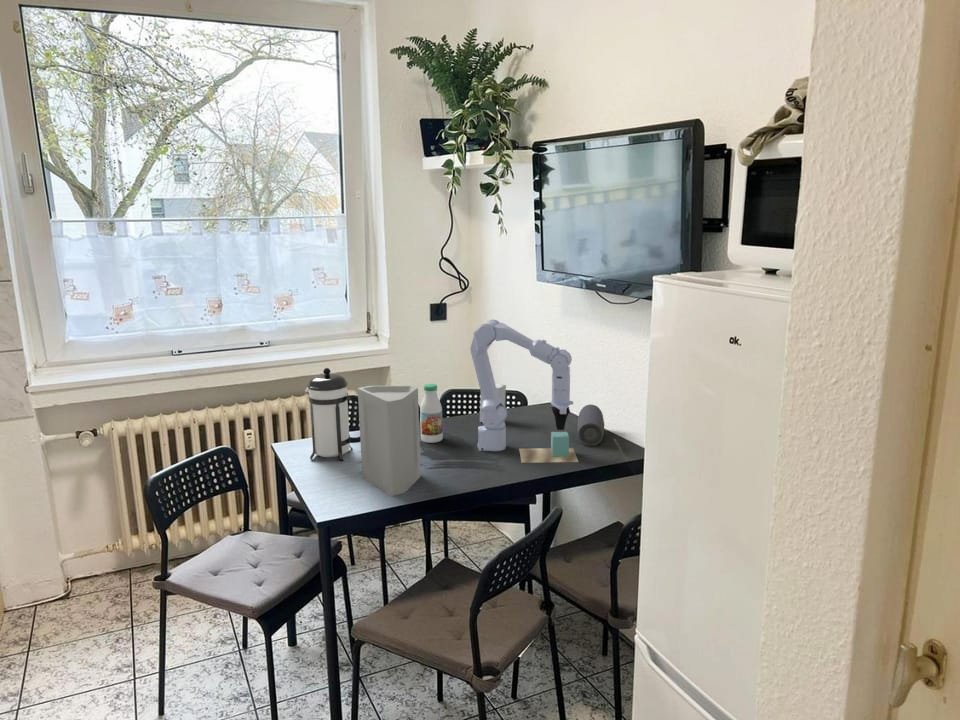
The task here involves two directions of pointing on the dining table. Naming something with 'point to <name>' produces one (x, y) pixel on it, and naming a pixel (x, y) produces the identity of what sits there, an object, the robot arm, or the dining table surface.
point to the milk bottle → (431, 415)
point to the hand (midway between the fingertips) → (560, 429)
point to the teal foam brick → (560, 444)
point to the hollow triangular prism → (390, 436)
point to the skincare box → (501, 393)
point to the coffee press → (330, 415)
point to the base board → (544, 456)
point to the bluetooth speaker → (590, 425)
